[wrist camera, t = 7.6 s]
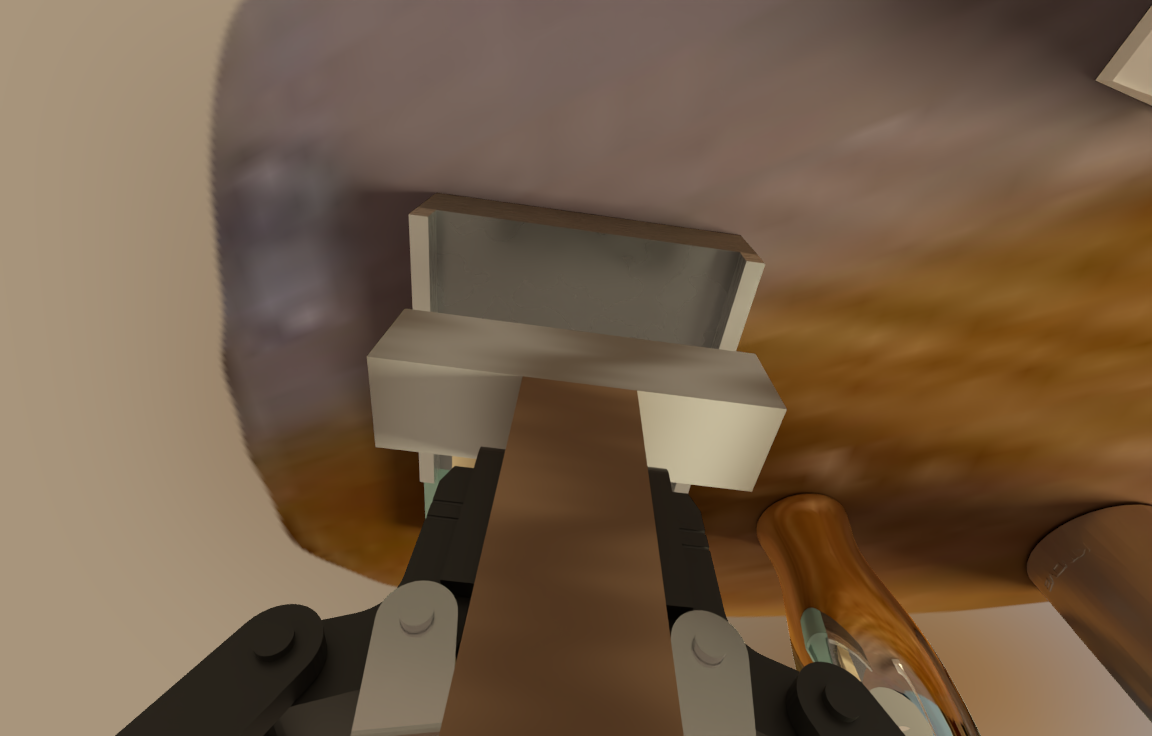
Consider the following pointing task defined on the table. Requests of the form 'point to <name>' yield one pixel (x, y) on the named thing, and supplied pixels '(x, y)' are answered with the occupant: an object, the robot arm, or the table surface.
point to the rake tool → (569, 504)
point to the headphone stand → (1133, 63)
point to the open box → (579, 276)
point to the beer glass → (856, 617)
